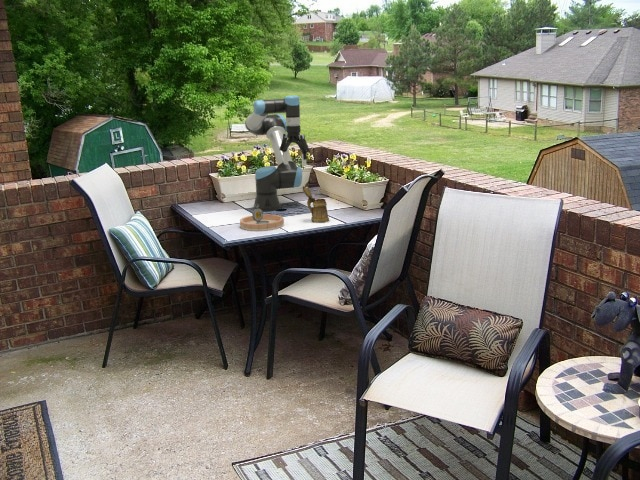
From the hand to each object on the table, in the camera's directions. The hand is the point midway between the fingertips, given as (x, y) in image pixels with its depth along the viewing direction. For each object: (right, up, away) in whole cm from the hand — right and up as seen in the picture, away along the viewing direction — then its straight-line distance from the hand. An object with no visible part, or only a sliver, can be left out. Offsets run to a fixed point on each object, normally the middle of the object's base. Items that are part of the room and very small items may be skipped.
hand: (294, 164), depth 379 cm
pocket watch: (-16, -33, -23) cm, 43 cm away
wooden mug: (+12, -31, -16) cm, 37 cm away
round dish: (-16, -33, -23) cm, 44 cm away
